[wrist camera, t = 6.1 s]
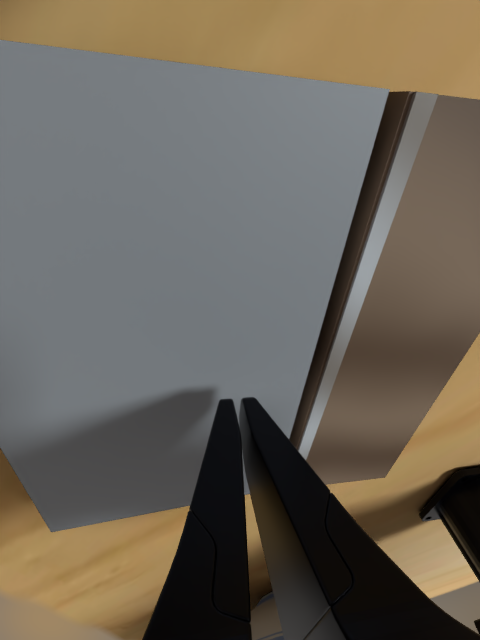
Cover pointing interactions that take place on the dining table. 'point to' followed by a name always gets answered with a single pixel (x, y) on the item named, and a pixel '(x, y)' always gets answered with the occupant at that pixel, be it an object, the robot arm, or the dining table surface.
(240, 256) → the grey tile
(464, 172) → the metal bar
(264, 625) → the ramen bowl
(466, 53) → the dining table surface
